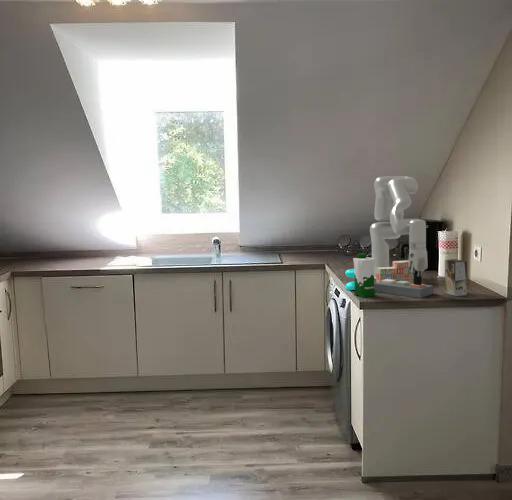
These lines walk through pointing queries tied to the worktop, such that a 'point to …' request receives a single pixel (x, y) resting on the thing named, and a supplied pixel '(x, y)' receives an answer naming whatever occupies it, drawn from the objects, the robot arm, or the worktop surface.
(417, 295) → the key panel
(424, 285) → the terracotta key
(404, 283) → the sage key
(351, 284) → the donuts
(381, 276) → the stack of blocks
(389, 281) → the cream key
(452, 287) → the coffee box
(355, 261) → the milk carton
